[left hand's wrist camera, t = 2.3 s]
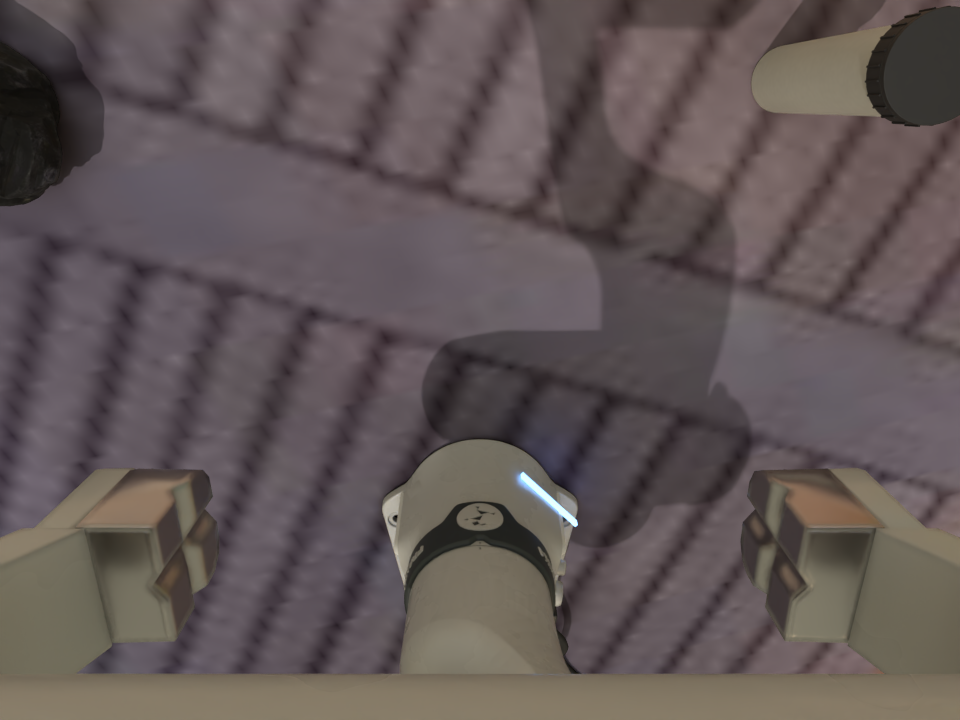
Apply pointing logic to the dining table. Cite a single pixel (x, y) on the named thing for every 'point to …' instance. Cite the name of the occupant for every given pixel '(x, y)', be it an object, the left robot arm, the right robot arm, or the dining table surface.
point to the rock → (26, 130)
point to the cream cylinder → (818, 75)
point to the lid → (917, 69)
